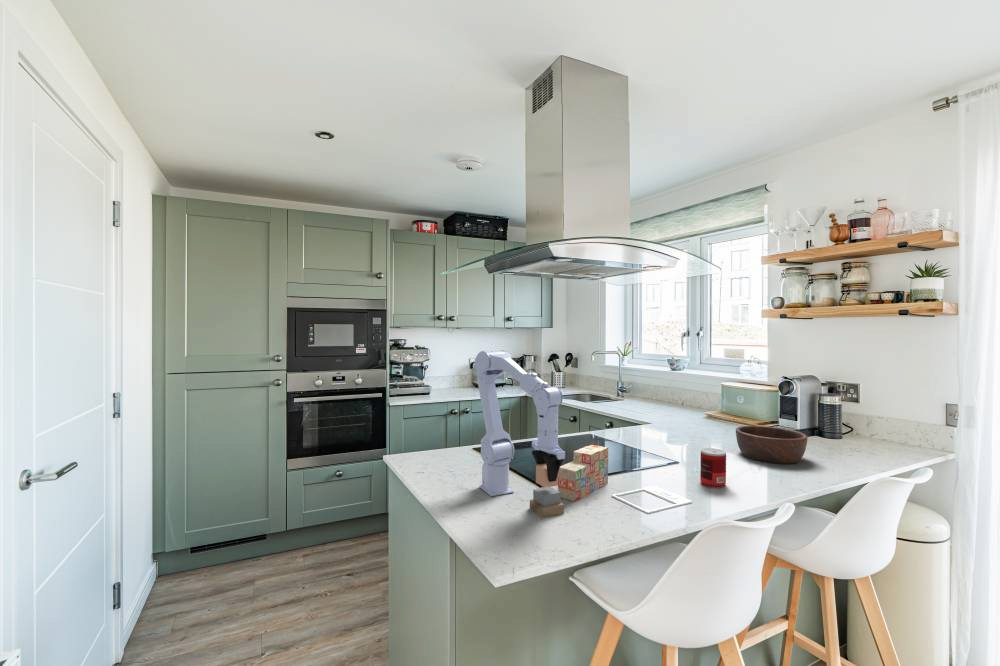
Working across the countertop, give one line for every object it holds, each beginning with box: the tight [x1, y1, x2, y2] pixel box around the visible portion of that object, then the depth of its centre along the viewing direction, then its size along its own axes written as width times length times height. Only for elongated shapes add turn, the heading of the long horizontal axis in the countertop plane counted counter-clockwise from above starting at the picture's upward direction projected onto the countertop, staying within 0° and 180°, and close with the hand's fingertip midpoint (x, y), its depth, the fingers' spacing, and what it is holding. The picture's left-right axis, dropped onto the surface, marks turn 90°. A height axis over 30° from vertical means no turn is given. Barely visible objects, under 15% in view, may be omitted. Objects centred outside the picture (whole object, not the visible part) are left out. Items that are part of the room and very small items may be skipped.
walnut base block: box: [529, 498, 565, 519], centre depth 129 cm, size 7×7×3 cm
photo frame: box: [611, 485, 693, 515], centre depth 138 cm, size 15×1×18 cm
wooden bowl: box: [735, 425, 808, 464], centre depth 186 cm, size 25×25×10 cm
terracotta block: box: [535, 463, 558, 488], centre depth 129 cm, size 4×4×5 cm
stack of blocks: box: [557, 444, 609, 502], centre depth 146 cm, size 21×6×12 cm, turn 140°
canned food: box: [700, 447, 727, 489], centre depth 152 cm, size 8×8×11 cm
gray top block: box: [532, 486, 562, 507], centre depth 129 cm, size 6×6×3 cm
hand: (547, 478), depth 129 cm, fingers closed on terracotta block, 4 cm apart
